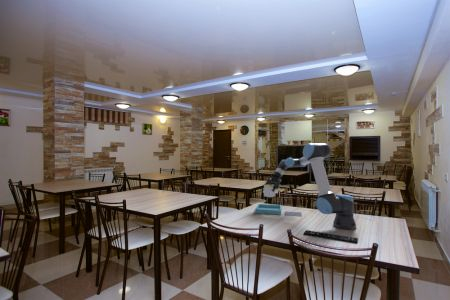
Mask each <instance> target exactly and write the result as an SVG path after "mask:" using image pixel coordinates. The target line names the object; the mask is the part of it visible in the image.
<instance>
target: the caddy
mask: <svg viewBox="0 0 450 300" xmlns="http://www.w3.org/2000/svg"><path fill="white" fill-rule="evenodd" d="M273 186H274V184H271V185H263V190H264V193H263V197H267V198H273V197H276V189H275V190H274V192H273V193H272V195H270V191H271V189H272V187H273ZM273 188H274V187H273Z"/></svg>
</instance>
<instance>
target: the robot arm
mask: <svg viewBox="0 0 450 300" xmlns="http://www.w3.org/2000/svg"><path fill="white" fill-rule="evenodd" d="M331 155H332V148H331V146H330V145H329V144H327V143H323V142H319V143H318V142H317V143H316V142H315V143H314V142H311V143H306V144H305V145H304V146H303V150H302V157H300V158H292V157H287V158H286V159H281V161H280V162H279V164H278V166H277V167H276V169H275V171H274V172H273V175H272V176H271V177H270V176H269V177H268V179H267V181H266V182H265V183H264V185H274V186H273V187H274V188H273V187H272V189H271V191H270V195H272V193H273V192H274V190H275V191H276V190H278V189H279V186H280V185H281V183H282V177H283V175H284V173H285V171H286V169H288V168H299V167H300V168H305V167H306V166H307V165H308V164H310V165H311V169H312V173H313V176H314V180H315V184H316V187H317V192H318V195H317V199H316V201H315V202H316V203H315V205H316V208H317V210H318V212H320V213H321V214H323V215H331V214H335V216H334V219H333V224H332V225H333V227H335V228H337V229H340V230H341V229H342V230H356V229H357V224H356V220H355V218H354V203H355V202H354V197H353V196H351V195H348V194H344V193H342V194H341V193H336V194H335V192H333V191H332V189H331V186H330V182H329V181H330V180H329V179H328V176H327V171H326V169H325V168H326V167H325V165H324V160H325V159H326V158H328V157H330V156H331ZM264 185H263V186H264ZM262 193H263V194H264V189H263V190H262Z"/></svg>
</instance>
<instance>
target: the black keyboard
mask: <svg viewBox="0 0 450 300" xmlns="http://www.w3.org/2000/svg"><path fill="white" fill-rule="evenodd" d="M303 236H309V237H315V238H320V239H326V240H332V241H338V242H339V241H340V242H344V243H350V244H351V243H352V244H358V241H359V237H352V236H347V235H340V234H333V233H328V232H327V233H326V232H320V231H315V230H314V231H313V230H308V229H306V230H305V231H304V232H303Z"/></svg>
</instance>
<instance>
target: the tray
mask: <svg viewBox="0 0 450 300" xmlns="http://www.w3.org/2000/svg"><path fill="white" fill-rule="evenodd" d="M282 209H283V206H282V204H268V203H266V204H265V203H257V205H256V207H255V209H254V210H255V211H254V213H255V215H278V216H279V215H280V216H281V215H282Z"/></svg>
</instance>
